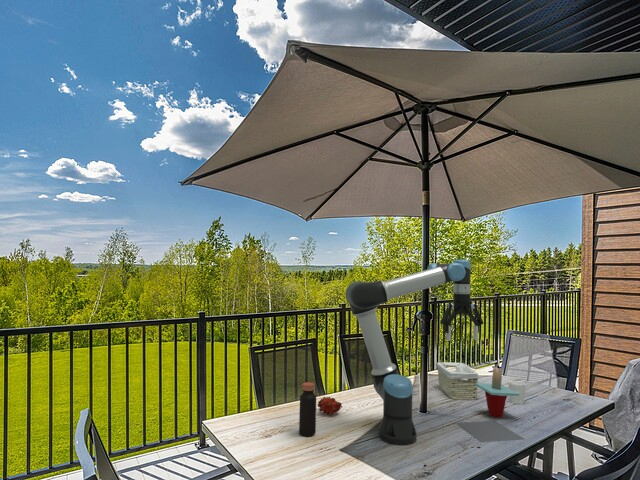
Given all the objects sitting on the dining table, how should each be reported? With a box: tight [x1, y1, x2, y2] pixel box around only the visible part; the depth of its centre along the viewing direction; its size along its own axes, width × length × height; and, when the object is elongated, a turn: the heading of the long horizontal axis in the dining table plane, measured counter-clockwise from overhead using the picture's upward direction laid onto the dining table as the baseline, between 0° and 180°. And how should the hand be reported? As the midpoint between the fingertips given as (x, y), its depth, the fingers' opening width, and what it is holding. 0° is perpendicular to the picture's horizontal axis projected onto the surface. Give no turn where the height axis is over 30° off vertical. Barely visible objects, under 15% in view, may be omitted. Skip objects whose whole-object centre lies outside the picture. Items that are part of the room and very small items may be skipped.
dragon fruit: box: [316, 396, 343, 416], centre depth 184 cm, size 8×8×12 cm
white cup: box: [508, 380, 526, 405], centre depth 207 cm, size 8×8×10 cm
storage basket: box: [436, 361, 480, 401], centre depth 220 cm, size 24×16×15 cm
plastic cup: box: [484, 391, 508, 419], centre depth 186 cm, size 11×11×12 cm
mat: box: [454, 420, 525, 443], centre depth 168 cm, size 20×20×1 cm
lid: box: [474, 367, 519, 397], centre depth 187 cm, size 14×14×10 cm
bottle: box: [298, 381, 317, 438], centre depth 162 cm, size 7×7×20 cm
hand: (462, 340), depth 179 cm, fingers open, 13 cm apart
